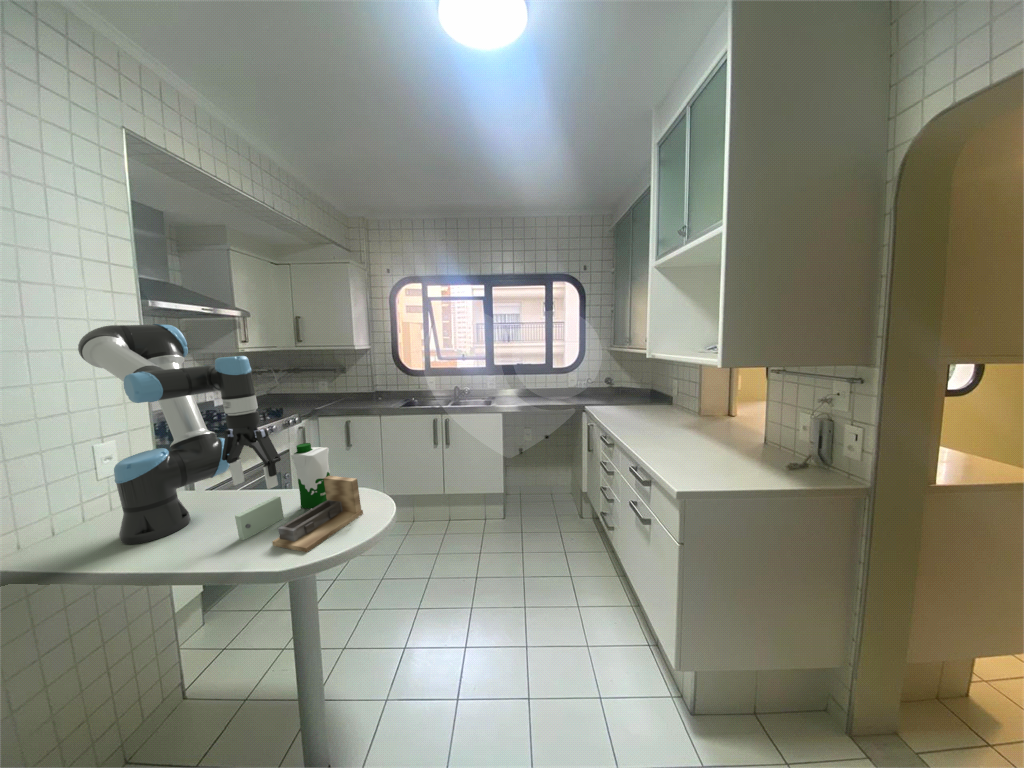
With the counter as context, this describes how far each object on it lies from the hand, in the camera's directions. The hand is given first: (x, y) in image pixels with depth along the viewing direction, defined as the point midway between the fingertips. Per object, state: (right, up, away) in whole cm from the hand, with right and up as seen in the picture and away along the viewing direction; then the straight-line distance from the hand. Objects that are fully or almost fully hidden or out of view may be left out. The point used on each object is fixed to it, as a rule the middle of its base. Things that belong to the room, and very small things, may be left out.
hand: (255, 485), depth 105 cm
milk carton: (+10, -11, +16) cm, 21 cm away
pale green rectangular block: (+1, -13, +2) cm, 13 cm away
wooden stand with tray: (+19, -12, 0) cm, 22 cm away
